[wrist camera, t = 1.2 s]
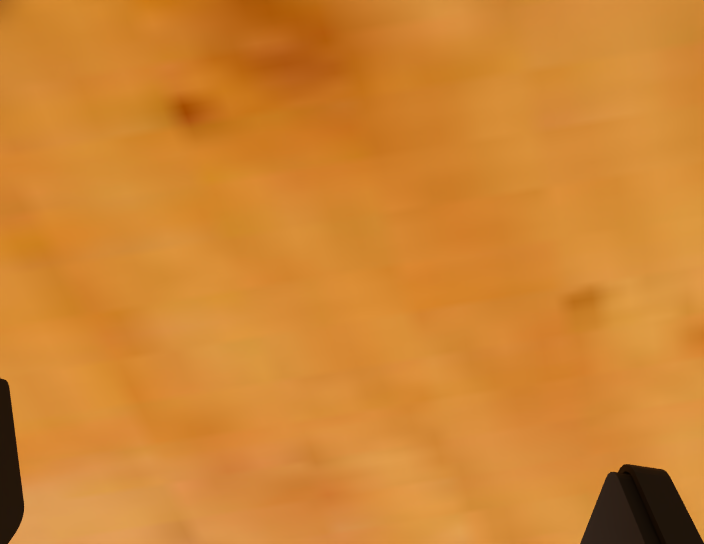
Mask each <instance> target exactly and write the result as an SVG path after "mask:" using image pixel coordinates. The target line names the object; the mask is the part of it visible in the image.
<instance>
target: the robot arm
mask: <svg viewBox="0 0 704 544" xmlns="http://www.w3.org/2000/svg"><path fill="white" fill-rule="evenodd" d="M23 513H24V501H23V493H22V485H21V477H20V469H19V461H18V453H17V445H16V437H15V429H14V421H13V413H12V405H11V398H10V390H9V385H8V382H7V381H6V380H4V379H0V544H8V543H9V541H10V540H11V538H12V537H13V536H14V534H15V533H16V531H17V529H18V528H19V525H20V523H21V521H22V517H23ZM580 544H704V543H703V541H702V539H701V537H700V535H699V533H698V531H697V529H696V527H695V525H694V523H693V521H692V519H691V517H690V515H689V513H688V511H687V509H686V507H685V505H684V503H683V501H682V499H681V497H680V495H679V494H678V492H677V490H676V488H675V486H674V484H673V482H672V480H671V478H670V476H669V475H668V473H667V472H666V471H664V470H662V469H656V468H649V467H642V466H636V465H629V464H626V465H623V466H622V467H621V468H620V470H619V471H618V473H617V472H610V473H609V474H608V475H607V477H606V479H605V482H604V485H603V487H602V490H601V492H600V495H599V497H598V500H597V502H596V505H595V507H594V510H593V513H592V515H591V518H590V520H589V523H588V525H587V528H586V530H585V533H584V536H583V538H582V541H581V543H580Z"/></svg>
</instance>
